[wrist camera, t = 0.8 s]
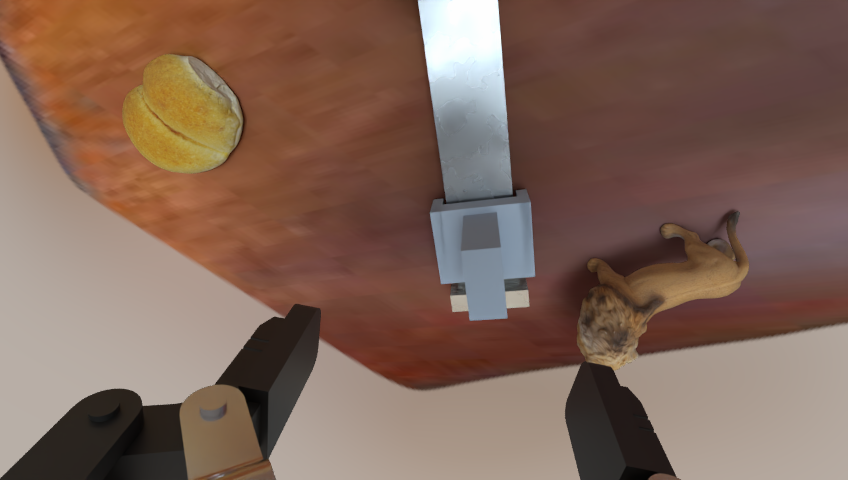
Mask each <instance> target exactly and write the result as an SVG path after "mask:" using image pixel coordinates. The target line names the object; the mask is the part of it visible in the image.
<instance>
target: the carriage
mask: <svg viewBox="0 0 848 480" xmlns="http://www.w3.org/2000/svg"><path fill="white" fill-rule="evenodd" d="M430 217H431V223H432V229H433V236H434V242H435V248H436V255H437V261H438V267H439V274H440V280H441V284H449V283H461V282H465V288H466V295H467V303H468V310H469V318H470V321H473V320H488V319H504V318H507V307H506V296H505V286H504V279H512V278H524V277H535V266H534V249H533V233H532V216H531V202H530V199H529V196H528V193H527V190H526V189H523V190H516V197H508V198H498V199H489V200H480V201H471V202H462V203H453V204H444V198H442V199H434V200H433V203H432V207H431V211H430Z"/></svg>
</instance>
